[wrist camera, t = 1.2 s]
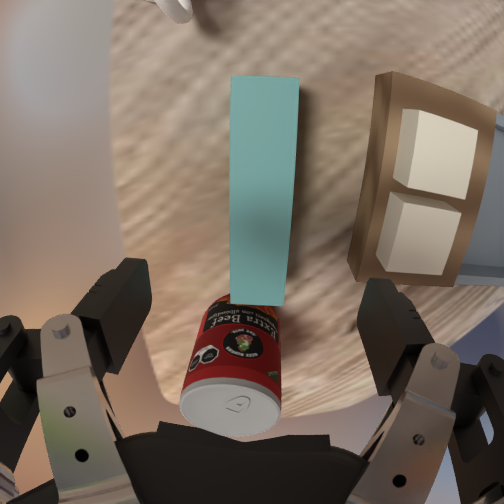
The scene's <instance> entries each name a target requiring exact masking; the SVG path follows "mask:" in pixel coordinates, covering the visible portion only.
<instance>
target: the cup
mask: <svg viewBox="0 0 504 504" xmlns="http://www.w3.org/2000/svg"><path fill="white" fill-rule="evenodd" d="M146 1H149V2H156V4H157V5H158V6H159V7H160V9H161V10H162V11H163V12H164V13H165V14H166V15H167V16H168V17H169V18H170V19H172V20H173V21H175V22H176V23H180V24H184V23H187V22H189V21H190V20H191V18H192V15H193V10H192V4H191V0H146Z"/></svg>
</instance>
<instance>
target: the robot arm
mask: <svg viewBox="0 0 504 504" xmlns="http://www.w3.org/2000/svg"><path fill="white" fill-rule="evenodd" d="M151 303H152V293H151V286H150V279H149V271H148V264H147V261H146V260H145V259H138V258H125V259H124V260H123V261H122V262H121V263H120V264H119V266H118V267H117V268H116V269H112V270H110V271H109V272H107V273H105V274H104V275H102V276H101V277H100V278H99V279H98V280H97V282H96V283H95V285H94V286H92V288H91V289H90V290H89V293H87V294H86V295H85V296H84V297H83V299H82V300H81V301H80V302H79V304H78V305H77V306H76V307H75V309H74V310H73V311H72V312H71V314H62V315H57V316H55V317H52V318H51V319H49V320H48V321H47V322H46V323H45V324H44V325H43V326H42V328H41V329H24V326H23V324H22V322H21V320H20V319H19V317H17V316H13V315H9V316H4V317H2V318H0V383H1V381H2V379H3V377H4V376H5V374H6V373H7V371H8V372H9V374H10V375H11V377H12V378H13V381H12V383H11V384H10V386H9V388H8V389H7V391H6V393H5V395H4V397H3V398H2V400H1V402H0V504H424V503H425V501H426V499H427V497H428V495H429V493H430V490H431V488H432V486H433V483H434V481H435V478H436V476H437V473H438V470H439V468H440V465H441V463H442V460H443V457H444V454H445V451H446V448H447V445H448V449H449V452H450V456H451V460H452V464H453V469H454V473H455V477H456V482H457V486H458V491H459V496H460V502H461V504H504V360H503V359H502V358H500V357H498V356H496V355H493V354H486V355H484V356H483V357H482V358H481V359H480V361H479V362H478V364H477V365H471V364H465V363H460V361H459V358H458V356H457V355H456V353H455V352H454V351H453V350H451V349H450V348H449V347H447V346H445V345H442V344H439V343H435V341H434V339H433V338H432V336H431V334H430V332H429V331H428V329H427V327H426V325H425V324H424V322H423V320H422V319H421V317H420V315H419V313H418V312H416V308H415V307H414V305H413V303H412V302H411V300H410V299H408V298H407V297H406V296H405V295H404V294H403V293H401V292H398V291H397V289H396V287H395V286H394V284H393V282H392V281H391V279H389V278H373V277H371V278H369V280H368V282H367V284H366V288H365V291H364V295H363V298H362V301H361V305H360V308H359V311H358V316H357V327H358V330H359V333H360V336H361V340H362V343H363V346H364V349H365V352H366V355H367V358H368V361H369V365H370V368H371V371H372V375H373V378H374V381H375V385H376V388H377V392H378V395H379V396H387V395H391V397H392V402H391V403H390V405H389V407H388V408H387V410H386V412H385V414H384V416H383V418H382V419H381V421H380V423H379V425H378V427H377V428H376V430H375V432H374V434H373V435H372V437H371V439H370V440H369V442H368V444H367V445H366V447H365V448H364V449H363V451H362V452H361V454H360V455H359V456H358V455H356V454H354V453H353V452H350V451H348V450H345V449H341V448H339V447H335V446H330V437H329V435H286V436H281V437H275V438H270V439H264V440H258V441H251V442H240V441H237V440H233V439H230V438H227V437H224V436H221V435H218V434H215V433H213V432H210V431H207V430H204V429H202V428H197V427H190V426H184V425H177V424H172V423H167V422H162V421H160V422H159V425H158V428H157V432H147V433H140V434H135V435H132V436H129V437H125V435H124V433H123V431H122V429H121V426H120V424H119V421H118V419H117V417H116V414H115V411H114V409H113V406H112V403H111V400H110V397H109V395H108V392H107V389H106V386H105V383H104V381H103V377H104V375H105V373H106V372H109V373H113V374H117V375H118V374H119V371H120V369H121V367H122V365H123V363H124V361H125V359H126V357H127V355H128V353H129V351H130V349H131V347H132V344H133V343H134V341H135V339H136V337H137V335H138V333H139V331H140V329H141V327H142V325H143V323H144V321H145V319H146V317H147V315H148V313H149V311H150V308H151ZM485 411H487V414H488V416H489V419H490V421H491V424H492V426H493V430H494V436H493V440H492V442H491V443H490V444H489V445H488V442H487V439H486V436H485V433H484V430H483V428H482V425H481V422H480V419H479V418H480V417H481V416H482V415H483V413H484V412H485ZM39 412H40V416H41V422H42V428H43V433H44V438H45V443H46V448H47V452H48V457H49V461H50V465H51V469H52V472H53V476H54V478H53V479H51V480H49V481H48V482H46V483H44V484H42V485H40V486H38V487H36V488H34V489H32V490H30V491H28V492H26V493H24V494H22V495H20V496H19V490H18V488H17V486H15V479H14V476H13V473H14V471H15V468H16V465H17V463H18V460H19V458H20V455H21V453H22V450H23V448H24V445H25V443H26V441H27V438H28V436H29V434H30V431H31V429H32V427H33V425H34V423H35V421H36V418H37V416H38V414H39Z"/></svg>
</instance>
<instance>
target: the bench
mask: <svg viewBox="0 0 504 504" xmlns="http://www.w3.org/2000/svg"><path fill="white" fill-rule="evenodd" d="M403 109H413V110H421V111H424V112H428V113H431V114H434V115H437V116H440V117H443V118H446V119H449V120H452V121H454V122H457V123H460V124H463V125H465V126H468V127H470V128H473V129H476V130H478V135H477V142H476V148H475V154H474V160H473V165H472V171H471V176H470V180H469V185H468V189H467V194H466V198H465V200H464V199H460V198H455V197H451V196H446V195H442V194H437V193H433V192H428V191H423V190H418V189H413V188H407V187H406V186H404V185H403V184H401V183H400V182H398V181H397V180H395V179H394V178H393V174H394V168H395V162H396V156H397V150H398V143H399V136H400V128H401V120H402V112H403ZM496 116H497V111H495V110H493V109H491V108H489V107H487V106H485V105H483V104H481V103H479V102H477V101H474V100H472V99H470V98H468V97H465V96H463V95H460V94H458V93H456V92H453V91H451V90H448V89H445V88H443V87H440V86H437V85H435V84H432V83H429V82H426V81H423V80H420V79H417V78H414V77H411V76H407V75H404V74H401V73H397V72H394V71H392V72H388V73H384V74H380V75H376V78H375V90H374V101H373V111H372V120H371V128H370V136H369V144H368V151H367V158H366V164H365V171H364V177H363V183H362V189H361V195H360V200H359V205H358V211H357V216H356V221H355V226H354V231H353V235H352V240H351V245H350V249H349V254H348V258H347V262H348V264H349V266H350V268H351V271H352V273H353V275H354V278H355V280H356V282H368V280H369V278H371V277H373V278H389V279H391V281H392V282H393V284H403V285H422V286H442V287H453V286H454V283H455V281H456V278H457V276H458V273H459V271H460V268H461V265H462V263H463V260H464V257H465V254H466V251H467V248H468V245H469V242H470V239H471V236H472V233H473V230H474V226H475V223H476V220H477V216H478V213H479V209H480V205H481V201H482V197H483V193H484V189H485V184H486V180H487V175H488V170H489V165H490V159H491V154H492V147H493V141H494V133H495V125H496ZM390 192H396V193H402V194H408V195H413V196H419V197H424V198H429V199H434V200H439V201H444V202H446V203H448V204H449V205H450V206H452V207H453V208H455V209H456V210H458V211H459V212H461V217H460V221H459V224H458V227H457V231H456V234H455V237H454V241H453V244H452V247H451V250H450V253H449V256H448V259H447V262H446V264H445V267H444V270H443V273H442V275H430V274H416V273H402V272H388V271H385V269H384V267H383V266H382V264H381V263H380V261H379V259H378V258H377V256H376V251H377V247H378V243H379V239H380V235H381V231H382V227H383V223H384V218H385V214H386V209H387V204H388V200H389V195H390Z"/></svg>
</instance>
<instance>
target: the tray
mask: <svg viewBox="0 0 504 504" xmlns="http://www.w3.org/2000/svg"><path fill="white" fill-rule="evenodd" d="M454 284H460V285H481V286H504V116H503V115H501V114H499V113H497V116H496V125H495V133H494V141H493V147H492V154H491V159H490V165H489V170H488V175H487V180H486V184H485V189H484V193H483V197H482V201H481V205H480V209H479V213H478V216H477V220H476V223H475V226H474V230H473V233H472V236H471V239H470V242H469V245H468V248H467V251H466V254H465V257H464V260H463V263H462V265H461V268H460V271H459V273H458V276H457V278H456V281H455V283H454Z"/></svg>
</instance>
